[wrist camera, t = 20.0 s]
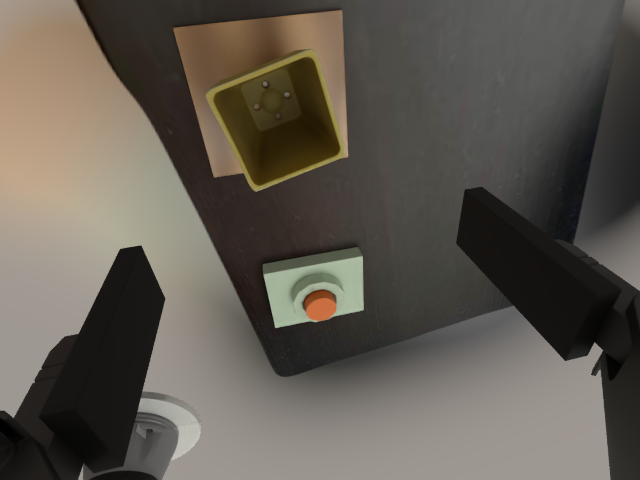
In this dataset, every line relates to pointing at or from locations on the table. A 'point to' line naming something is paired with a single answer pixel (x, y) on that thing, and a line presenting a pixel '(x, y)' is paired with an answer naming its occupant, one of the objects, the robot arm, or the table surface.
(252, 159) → the flower pot
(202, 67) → the brown wooden board
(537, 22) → the table surface
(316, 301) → the round orange button
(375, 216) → the table surface
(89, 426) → the robot arm
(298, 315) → the green button base
